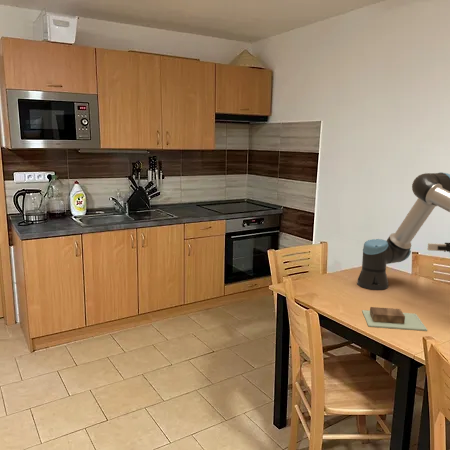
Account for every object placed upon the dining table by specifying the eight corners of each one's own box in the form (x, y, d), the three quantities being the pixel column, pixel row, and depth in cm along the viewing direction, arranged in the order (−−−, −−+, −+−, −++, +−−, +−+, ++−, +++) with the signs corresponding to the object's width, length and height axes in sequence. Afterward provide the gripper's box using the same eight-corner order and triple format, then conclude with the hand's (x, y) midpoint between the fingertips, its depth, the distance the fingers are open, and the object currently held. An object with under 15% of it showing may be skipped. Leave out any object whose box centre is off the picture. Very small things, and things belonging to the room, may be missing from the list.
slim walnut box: (404, 323, 170) (373, 321, 171) (399, 316, 177) (369, 314, 179) (405, 316, 169) (373, 314, 171) (400, 308, 177) (370, 307, 179)
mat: (368, 326, 168) (368, 325, 168) (362, 311, 184) (362, 310, 183) (427, 331, 165) (427, 329, 164) (415, 315, 180) (415, 313, 180)
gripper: (496, 262, 165) (432, 259, 169) (482, 254, 178) (422, 251, 181) (499, 244, 164) (434, 241, 167) (484, 237, 176) (424, 234, 180)
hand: (428, 246), depth 174 cm, fingers closed
